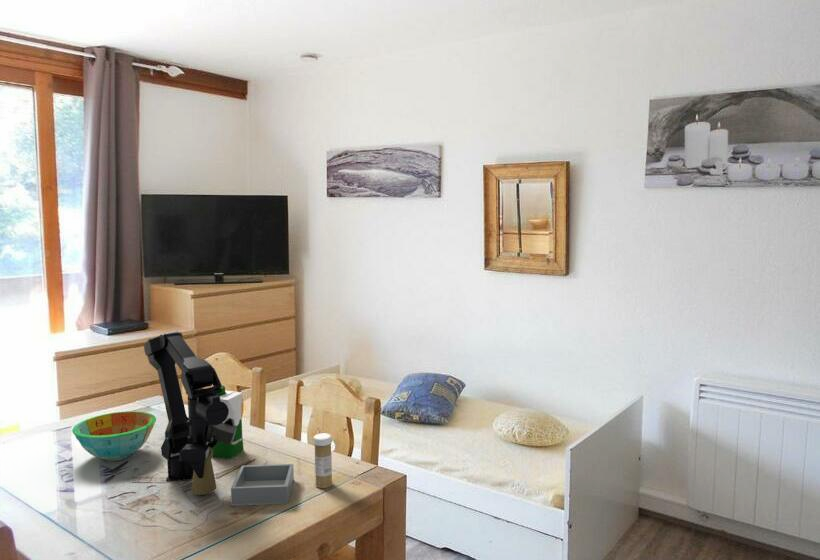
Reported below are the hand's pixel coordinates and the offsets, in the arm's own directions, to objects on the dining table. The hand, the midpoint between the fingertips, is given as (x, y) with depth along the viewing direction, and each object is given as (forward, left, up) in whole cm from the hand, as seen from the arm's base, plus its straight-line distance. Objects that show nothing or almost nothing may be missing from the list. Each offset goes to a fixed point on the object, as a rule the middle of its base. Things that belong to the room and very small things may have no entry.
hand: (203, 473), depth 161 cm
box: (+15, 0, -6) cm, 16 cm away
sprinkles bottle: (+30, +3, -6) cm, 31 cm away
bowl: (-32, +28, -6) cm, 43 cm away
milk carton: (0, +27, -6) cm, 28 cm away
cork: (0, 0, -4) cm, 4 cm away
